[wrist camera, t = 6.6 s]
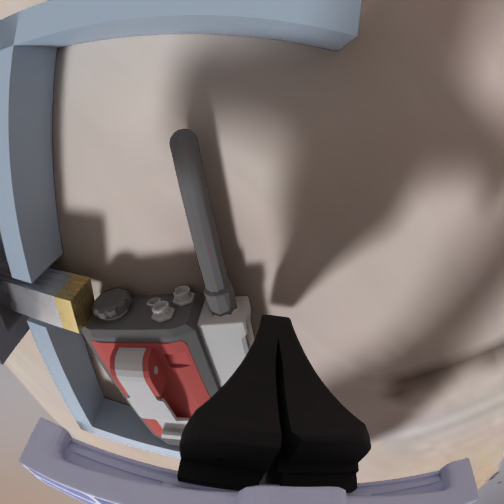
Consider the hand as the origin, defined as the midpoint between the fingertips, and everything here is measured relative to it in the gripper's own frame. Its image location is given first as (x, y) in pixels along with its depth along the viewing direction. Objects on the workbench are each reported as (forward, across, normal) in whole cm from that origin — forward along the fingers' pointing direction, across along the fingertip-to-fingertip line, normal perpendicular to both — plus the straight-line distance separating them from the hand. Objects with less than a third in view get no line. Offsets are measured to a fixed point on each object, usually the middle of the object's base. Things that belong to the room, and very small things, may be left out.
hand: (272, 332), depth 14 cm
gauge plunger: (0, +13, 0) cm, 13 cm away
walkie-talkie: (+2, +5, +2) cm, 6 cm away
